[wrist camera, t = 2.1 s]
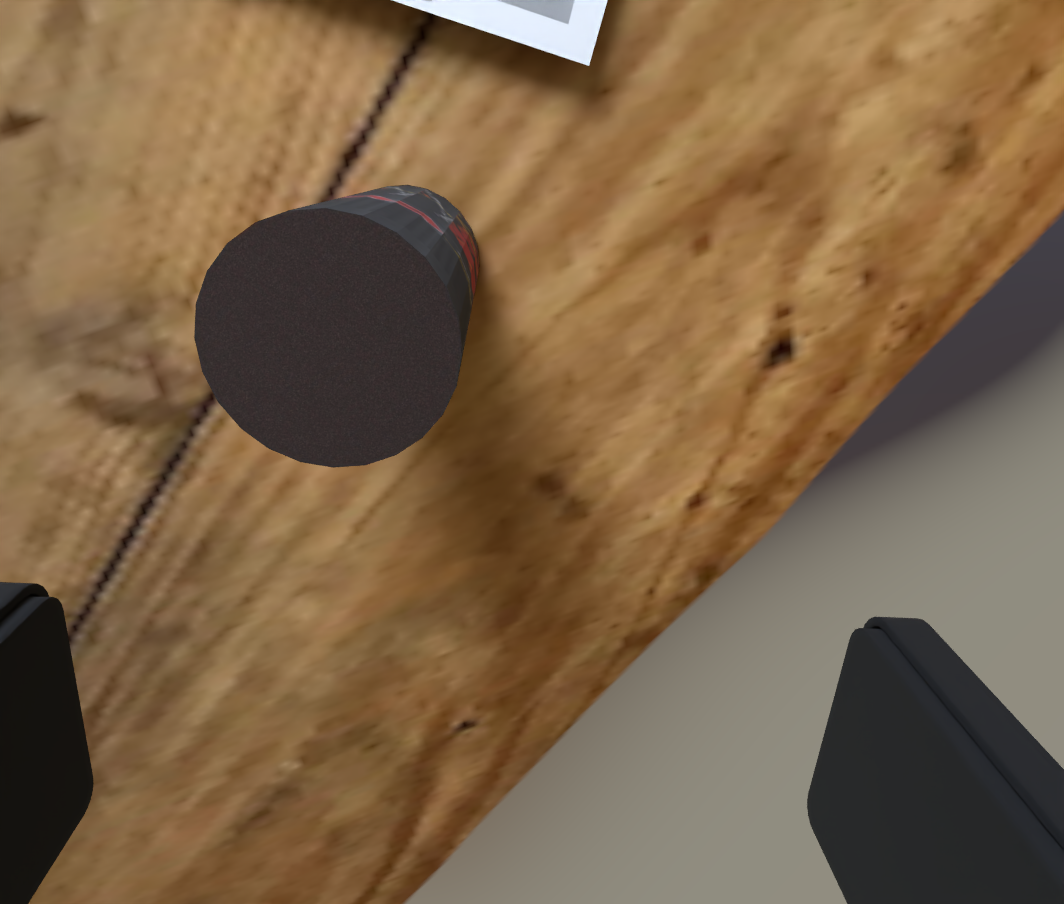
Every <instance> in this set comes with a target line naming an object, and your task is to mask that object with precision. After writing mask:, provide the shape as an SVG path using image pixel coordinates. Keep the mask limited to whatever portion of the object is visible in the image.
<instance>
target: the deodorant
mask: <svg viewBox="0 0 1064 904" xmlns="http://www.w3.org/2000/svg"><path fill="white" fill-rule="evenodd" d="M478 272H479V255H478V246H477V243H476V240H475V237H474V235H473V232H472V229H471V227H470V226H469V224H468V223H467V221H466V220H465V218H464V217H463V215H462V214H461V212H460V211H459V210H458V209H457V208H455V207H454V206H453V205H452V204H451V203H450V202H449V201H448V200H446V199H445V198H444V197H442V196H440V195H438V194H436V193H434V192H432V191H430V190H428V189H424V188H420V187H415V186H410V185H401V186H388V187H383V188H379V189H375V190H371V191H367V192H363V193H359V194H355V195H351V196H346V197H342V198H338V199H334V200H330V201H326V202H322V203H318V204H314V205H309V206H305V207H301V208H297V209H293V210H289V211H286V212H283V213H280V214H278V215H275V216H272V217H269V218H266V219H264V220H261V221H258V222H255V223H254V224H252V225H251V226H250V227H248V228H247V229H246V230H244V231H243V232H242V233H240V234H239V235H238V236H236V237H235V238H234V239H232V240H231V241H230V242H228V243H227V244H226V246H225V247H224V248H223V250H222V251H221V253H220V254H219V255H218V257H217V258H216V259H215V261H214V262H213V264H212V265H211V266H210V268H209V269H208V270H207V273H206V276H205V279H204V281H203V284H202V287H201V290H200V293H199V296H198V299H197V302H196V315H195V342H196V346H197V351H198V355H199V359H200V364H201V368H202V372H203V374H204V376H205V378H206V380H207V382H208V384H209V385H210V387H211V389H212V391H213V393H214V395H215V397H216V399H217V401H218V402H219V404H220V405H221V406H222V407H223V408H224V409H225V410H226V412H227V413H228V414H229V415H230V416H231V417H232V419H233V420H234V421H235V422H236V423H237V424H238V426H239V427H240V428H241V429H242V430H244V431H245V432H247V433H248V434H249V435H251V436H252V437H254V438H255V439H256V440H258V441H259V442H260V443H262V444H263V445H265V446H266V447H267V448H269V449H271V450H273V451H276V452H278V453H280V454H283V455H285V456H288V457H290V458H292V459H295V460H297V461H299V462H304V463H310V464H316V465H322V466H328V467H346V466H360V465H367V464H370V463H373V462H376V461H379V460H382V459H385V458H388V457H391V456H394V455H397V454H398V453H400V452H401V451H403V450H404V449H406V448H407V447H409V446H411V445H412V444H414V443H415V442H417V441H418V440H420V439H421V438H423V436H424V435H425V434H426V433H427V432H428V431H429V430H430V429H431V427H432V426H433V425H434V424H435V423H436V422H437V421H438V419H439V418H440V417H441V416H442V415H443V413H444V411H445V409H446V407H447V405H448V403H449V401H450V399H451V397H452V394H453V392H454V390H455V388H456V386H457V381H458V376H459V371H460V366H461V360H462V355H463V350H464V345H465V340H466V335H467V330H468V324H469V319H470V314H471V309H472V304H473V299H474V294H475V288H476V283H477V277H478Z"/></svg>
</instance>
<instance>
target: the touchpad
mask: <svg viewBox="0 0 1064 904" xmlns="http://www.w3.org/2000/svg"><path fill="white" fill-rule="evenodd" d="M392 1H395V2H398V3H401V4H404V5H407V6H410V7H413V8H416V9H419V10H422V11H425V12H428V13H431V14H434V15H437V16H440V17H443V18H446V19H449V20H452V21H455V22H458V23H461V24H464V25H467V26H470V27H473V28H476V29H479V30H482V31H485V32H488V33H491V34H494V35H497V36H500V37H503V38H506V39H509V40H512V41H515V42H518V43H521V44H524V45H527V46H530V47H533V48H536V49H539V50H542V51H545V52H548V53H551V54H554V55H558V56H561V57H564V58H567V59H570V60H573V61H576V62H579V63H582V64H585V65H588V66H589V64H590V61H591V57H592V54H593V50H594V47H595V43H596V39H597V36H598V32H599V29H600V25H601V22H602V18H603V15H604V11H605V8H606V4H607V1H608V0H392Z"/></svg>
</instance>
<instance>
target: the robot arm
mask: <svg viewBox="0 0 1064 904" xmlns="http://www.w3.org/2000/svg"><path fill="white" fill-rule="evenodd" d="M92 791H93V774H92V769H91V763H90V757H89V752H88V746H87V740H86V735H85V729H84V724H83V718H82V712H81V707H80V701H79V695H78V690H77V684H76V678H75V673H74V667H73V662H72V656H71V650H70V645H69V639H68V633H67V628H66V622H65V616H64V611H63V607H62V604H61V602H60V601H59V600H58V599H57V598H54V597H49V595H48V592H47V591H46V590H45V588H44V587H43V586H41V585H39V584H31V583H6V582H0V904H28V903H29V901H30V900H31V898H32V896H33V895H34V893H35V892H36V890H37V889H38V887H39V885H40V884H41V882H42V881H43V879H44V877H45V876H46V874H47V873H48V871H49V870H50V868H51V866H52V865H53V863H54V862H55V860H56V858H57V857H58V855H59V854H60V852H61V851H62V849H63V847H64V846H65V844H66V843H67V841H68V839H69V838H70V836H71V835H72V833H73V831H74V830H75V828H76V827H77V825H78V824H79V822H80V820H81V819H82V817H83V816H84V814H85V812H86V810H87V808H88V805H89V803H90V800H91V796H92ZM807 808H808V816H809V820H810V824H811V827H812V829H813V831H814V834H815V836H816V838H817V840H818V842H819V844H820V846H821V848H822V850H823V853H824V855H825V857H826V859H827V861H828V863H829V865H830V868H831V870H832V872H833V874H834V876H835V878H836V880H837V882H838V885H839V887H840V889H841V891H842V893H843V895H844V897H845V899H846V902H847V904H1064V769H1063V768H1062V767H1061V766H1060V765H1059V764H1058V763H1057V762H1056V761H1055V760H1054V759H1053V757H1052V756H1051V755H1050V754H1049V753H1048V752H1047V751H1046V750H1045V749H1044V748H1043V747H1042V746H1041V745H1040V743H1039V742H1038V741H1037V740H1036V739H1035V738H1034V737H1033V736H1032V735H1031V734H1030V733H1029V732H1028V731H1027V729H1025V727H1024V726H1023V725H1022V724H1021V723H1020V722H1019V721H1018V720H1017V719H1016V718H1015V717H1014V715H1013V714H1012V713H1011V712H1010V711H1009V710H1008V709H1007V708H1006V707H1005V706H1004V705H1003V704H1002V703H1001V701H1000V700H999V699H998V698H997V697H996V696H995V695H994V694H993V693H992V692H991V691H990V690H989V689H988V687H986V686H985V684H984V683H983V682H982V681H981V680H980V679H979V678H978V677H977V676H976V675H975V674H974V672H973V671H972V670H971V669H970V668H969V667H968V666H967V665H966V664H965V663H964V662H963V661H962V659H961V658H960V657H959V656H958V655H957V654H956V653H955V652H954V651H953V650H952V649H951V648H950V647H949V646H948V644H947V643H946V642H944V640H943V639H942V638H941V637H940V636H939V635H938V634H937V633H936V632H935V630H934V629H933V628H932V627H931V626H930V625H929V624H928V623H926V622H925V621H924V620H921V619H916V618H891V617H873V618H871V619H869V620H868V621H867V623H866V624H865V625H864V628H859V629H856V630H855V631H854V632H853V633H852V635H851V637H850V640H849V644H848V648H847V651H846V655H845V659H844V663H843V666H842V670H841V674H840V678H839V681H838V685H837V689H836V692H835V696H834V700H833V703H832V707H831V711H830V715H829V718H828V722H827V726H826V730H825V734H824V737H823V741H822V744H821V748H820V752H819V756H818V759H817V763H816V767H815V771H814V774H813V778H812V782H811V785H810V789H809V793H808V799H807Z"/></svg>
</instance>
